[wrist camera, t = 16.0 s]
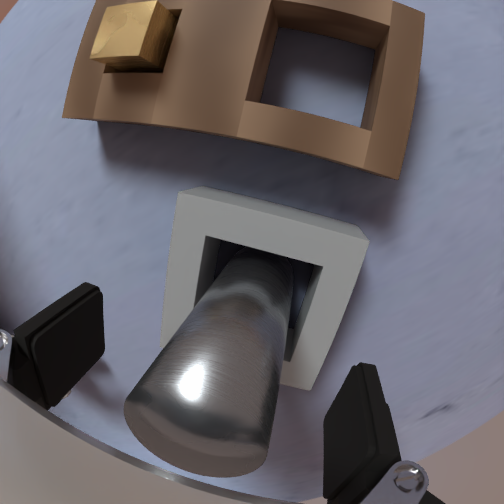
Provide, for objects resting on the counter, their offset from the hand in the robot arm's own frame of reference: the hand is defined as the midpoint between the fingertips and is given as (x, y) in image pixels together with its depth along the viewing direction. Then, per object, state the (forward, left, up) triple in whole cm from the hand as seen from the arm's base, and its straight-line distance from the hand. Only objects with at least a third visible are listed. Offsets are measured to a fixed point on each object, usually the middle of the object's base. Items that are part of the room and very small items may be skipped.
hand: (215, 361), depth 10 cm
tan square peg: (-8, +12, -8) cm, 17 cm away
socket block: (-4, +12, -9) cm, 15 cm away
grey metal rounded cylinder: (0, 0, -9) cm, 9 cm away
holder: (0, 0, -9) cm, 9 cm away
